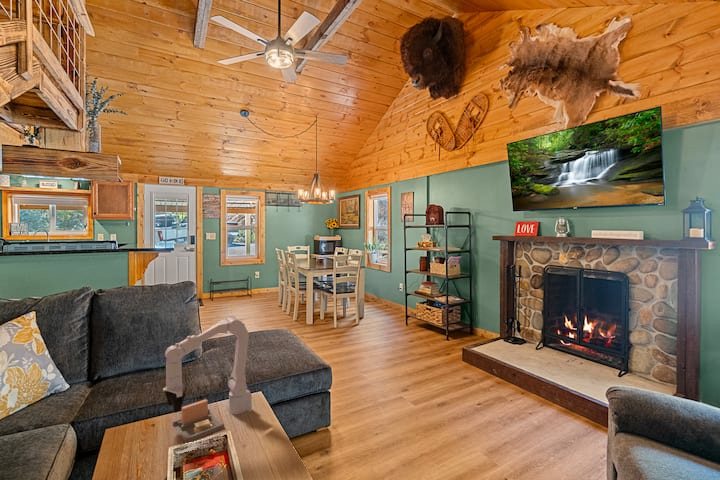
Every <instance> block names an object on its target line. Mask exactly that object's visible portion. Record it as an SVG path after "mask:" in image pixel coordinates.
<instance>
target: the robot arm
mask: <svg viewBox="0 0 720 480" xmlns="http://www.w3.org/2000/svg"><path fill="white" fill-rule="evenodd" d="M228 332H229V333H230V334H232V335H234V336H235V337H236V342H235V351H234V358H233V360H234V361H233V368H232V372H231V373H230V377H229V378H228V380H227V386H228V388H229V389H230V390H229V393H228V412H229V414H231V415H240V414H242V413H244V412H246V411H247V412H248V413H252V412H253V409H252V407H253V404H252V403H253V402H252V400H253V399H252V398H253V397H252V394H251V391H250V390H249V389H248V384H247V377H246V374H245V373H246V364H247V355H248V348H249V340H250V339H249V337H250V333H249V331H248V329H247V327H246V324H245V323H243V322H242V321H241V320H239V319H237V318H236V316H233V315H229V316H227V317H225V318H223V319H221V320H220V321H218V322H217V323H215V324H214V325H213V326H210V327H209V328H208V329H206V330H204V331H203V332H201V333H199V334H198V335H194V334H193V335H188V336H186V338H185V339H183V340H182V341H179V342H175V344H174V345H170V346H169V347H166V350H165V352H164V356H165V358H166V360H165V361H166V362H165V364H166V365H165V387H163V388H162V391H163V392H164V395H165V397H166V401H167V404H168V406H169V407H170V406H172V407H173V412H174V413H178V412H181V411H182V407H183V406H182V405H183V403H184V402H183V401H184V400H185V397H186V395H187V394H186V392H183V375H182V373H183V372H182V370H183V369H182V365H183V364H182V359H183V357H184V356H186V355H188V354H189V353H191V352H193V351H194V350H196V349H198V348H200V346H201V344H202V343H203V342H205V341H207V340H209V339H211V338H212V337H214V336H216V335H218V334H228Z"/></svg>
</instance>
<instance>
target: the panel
mask: <svg viewBox="0 0 720 480" xmlns="http://www.w3.org/2000/svg"><path fill="white" fill-rule="evenodd" d="M208 409H209V400H208V399H207V398H205V399H202V400H199V401H196V402H193V403H191V404H187V405H185V406H181V418H182V425H184V424H187V423H189V422H192V421H195V420H198V419H200V418H203V417H206V416H208Z"/></svg>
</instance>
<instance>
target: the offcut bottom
mask: <svg viewBox="0 0 720 480" xmlns="http://www.w3.org/2000/svg"><path fill="white" fill-rule="evenodd" d="M211 427H213V425H212V424H211V423H210V427H207V428H204V429H201V430H198V431H196V429H195V428H194V432H195V433H199V432H201V431H204V430H206V429H209V428H211Z"/></svg>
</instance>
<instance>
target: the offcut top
mask: <svg viewBox="0 0 720 480" xmlns="http://www.w3.org/2000/svg"><path fill="white" fill-rule="evenodd" d="M207 427H210V422H209V420H208V419H207V420H204V421H201V422H197V423H195V429H196V431H198V430H201V429H204V428H207Z"/></svg>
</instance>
